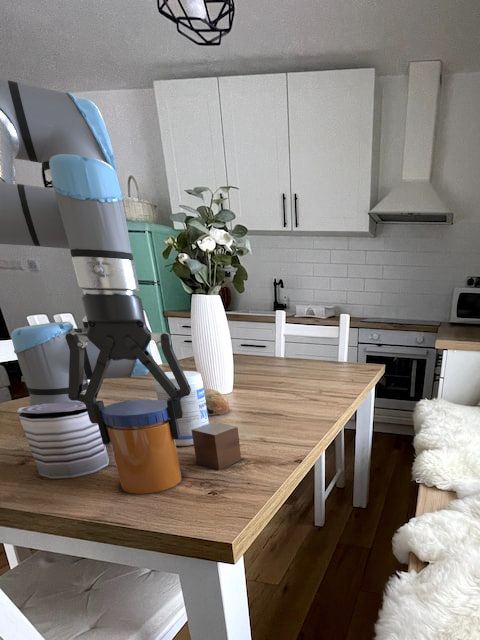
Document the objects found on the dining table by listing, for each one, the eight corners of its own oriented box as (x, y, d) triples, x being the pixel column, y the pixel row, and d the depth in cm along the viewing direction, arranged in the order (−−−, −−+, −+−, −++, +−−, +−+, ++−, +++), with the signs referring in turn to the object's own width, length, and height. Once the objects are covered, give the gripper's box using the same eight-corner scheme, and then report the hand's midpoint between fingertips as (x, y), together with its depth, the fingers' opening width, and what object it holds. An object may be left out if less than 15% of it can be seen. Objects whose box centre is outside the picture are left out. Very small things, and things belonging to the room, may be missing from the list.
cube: (196, 463, 77) (191, 429, 74) (219, 454, 82) (215, 421, 79) (219, 470, 75) (214, 435, 72) (241, 459, 80) (237, 426, 77)
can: (21, 476, 70) (-3, 410, 65) (72, 453, 80) (54, 395, 75) (80, 481, 69) (59, 414, 64) (123, 457, 79) (109, 398, 74)
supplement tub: (215, 442, 88) (206, 376, 82) (170, 450, 83) (157, 380, 77) (204, 431, 96) (195, 369, 89) (162, 437, 91) (149, 372, 84)
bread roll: (193, 428, 108) (187, 405, 102) (193, 404, 114) (188, 381, 108) (230, 426, 111) (227, 403, 105) (229, 402, 117) (226, 380, 111)
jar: (111, 482, 69) (92, 412, 63) (164, 466, 76) (151, 401, 70) (138, 499, 64) (120, 424, 58) (192, 480, 71) (180, 411, 65)
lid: (160, 427, 61) (158, 415, 60) (91, 427, 60) (88, 415, 59) (178, 410, 70) (176, 399, 69) (119, 410, 69) (116, 399, 68)
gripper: (5, 290, 50) (57, 452, 60) (192, 295, 57) (213, 441, 66) (29, 290, 57) (73, 436, 66) (195, 294, 63) (213, 427, 73)
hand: (143, 439), depth 66 cm, fingers closed on lid, 10 cm apart
